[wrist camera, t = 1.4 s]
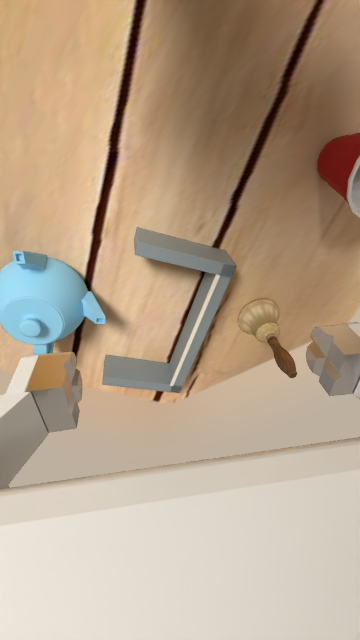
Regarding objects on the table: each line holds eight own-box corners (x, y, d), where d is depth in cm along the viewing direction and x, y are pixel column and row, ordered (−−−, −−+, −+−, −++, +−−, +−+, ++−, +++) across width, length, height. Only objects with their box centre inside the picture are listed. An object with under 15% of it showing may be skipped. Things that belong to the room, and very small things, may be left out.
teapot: (-28, 288, 48) (-62, 329, 40) (33, 225, 44) (10, 255, 35) (53, 341, 56) (40, 385, 48) (111, 292, 52) (108, 329, 43)
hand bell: (246, 339, 63) (277, 400, 50) (231, 311, 58) (261, 370, 45) (283, 321, 61) (325, 379, 49) (271, 291, 57) (314, 346, 44)
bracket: (104, 362, 61) (102, 385, 56) (137, 227, 46) (138, 242, 41) (175, 371, 65) (179, 394, 60) (225, 250, 51) (237, 267, 46)
